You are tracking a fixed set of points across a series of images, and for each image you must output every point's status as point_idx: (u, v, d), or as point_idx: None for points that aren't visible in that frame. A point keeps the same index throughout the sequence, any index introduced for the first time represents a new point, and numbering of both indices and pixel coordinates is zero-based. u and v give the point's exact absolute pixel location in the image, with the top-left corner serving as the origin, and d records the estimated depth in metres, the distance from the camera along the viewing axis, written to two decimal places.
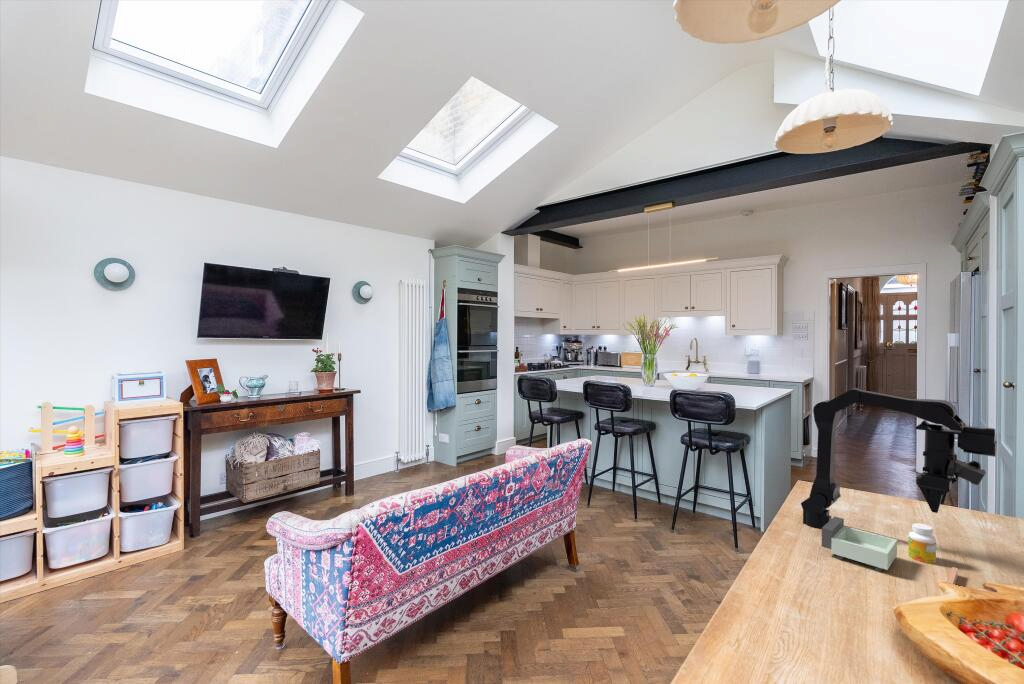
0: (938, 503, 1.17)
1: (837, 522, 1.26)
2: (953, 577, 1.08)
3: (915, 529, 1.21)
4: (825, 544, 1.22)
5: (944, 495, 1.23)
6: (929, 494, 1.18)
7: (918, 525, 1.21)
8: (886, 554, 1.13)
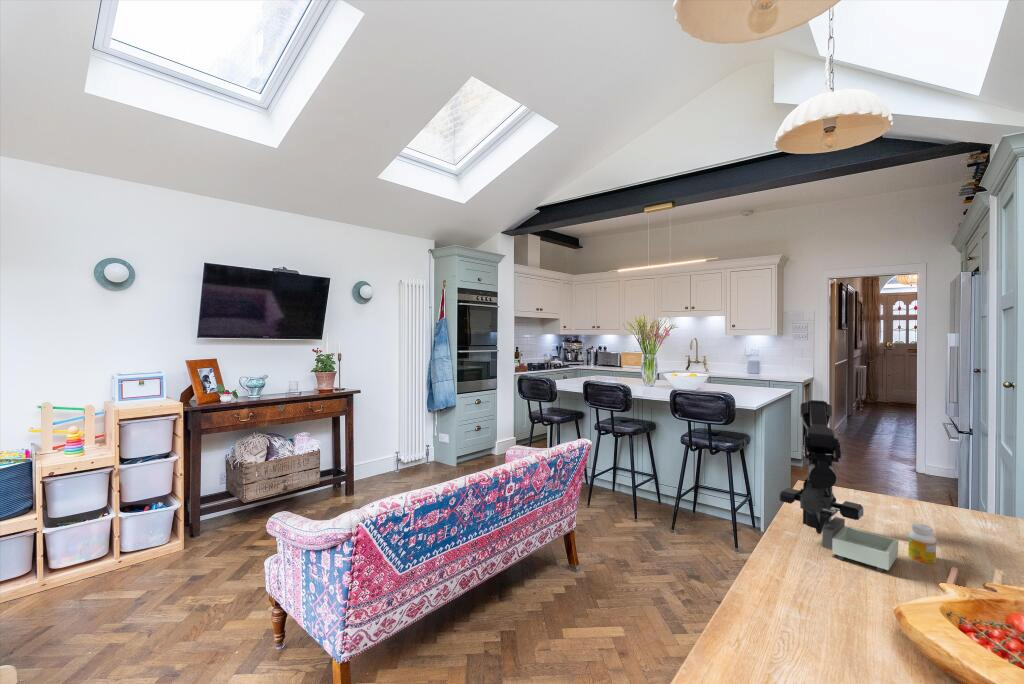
0: None
1: (838, 522, 1.26)
2: (953, 577, 1.08)
3: (914, 529, 1.21)
4: (826, 544, 1.22)
5: None
6: None
7: (917, 525, 1.21)
8: (887, 554, 1.13)
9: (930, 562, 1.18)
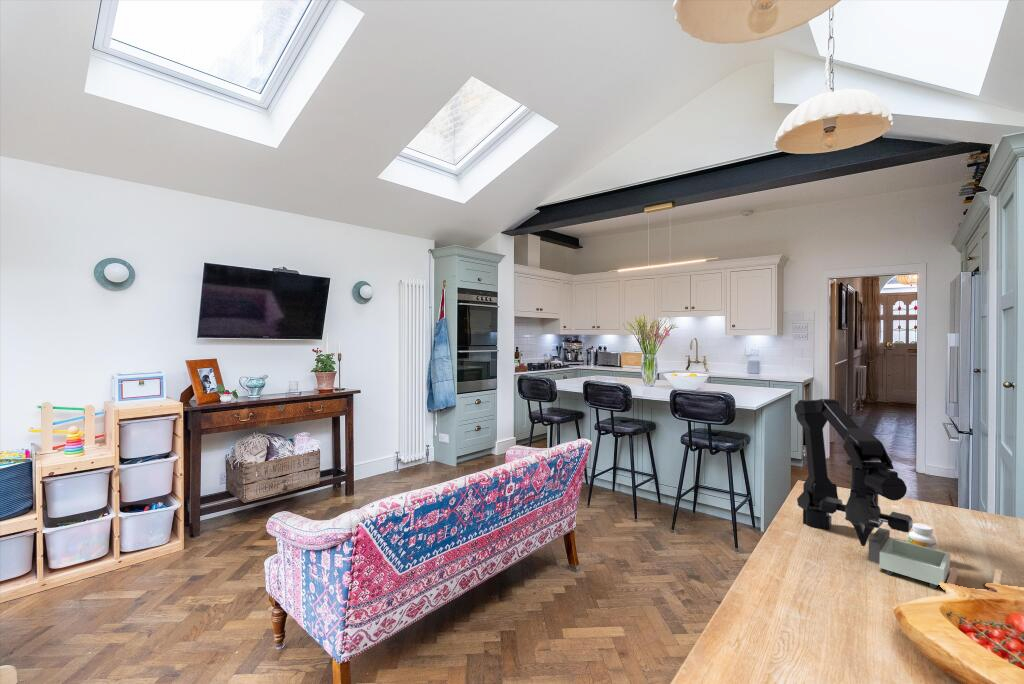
0: None
1: (883, 534, 1.19)
2: (953, 577, 1.08)
3: (915, 529, 1.21)
4: (872, 558, 1.15)
5: (863, 537, 1.20)
6: None
7: (918, 525, 1.21)
8: (942, 570, 1.05)
9: None
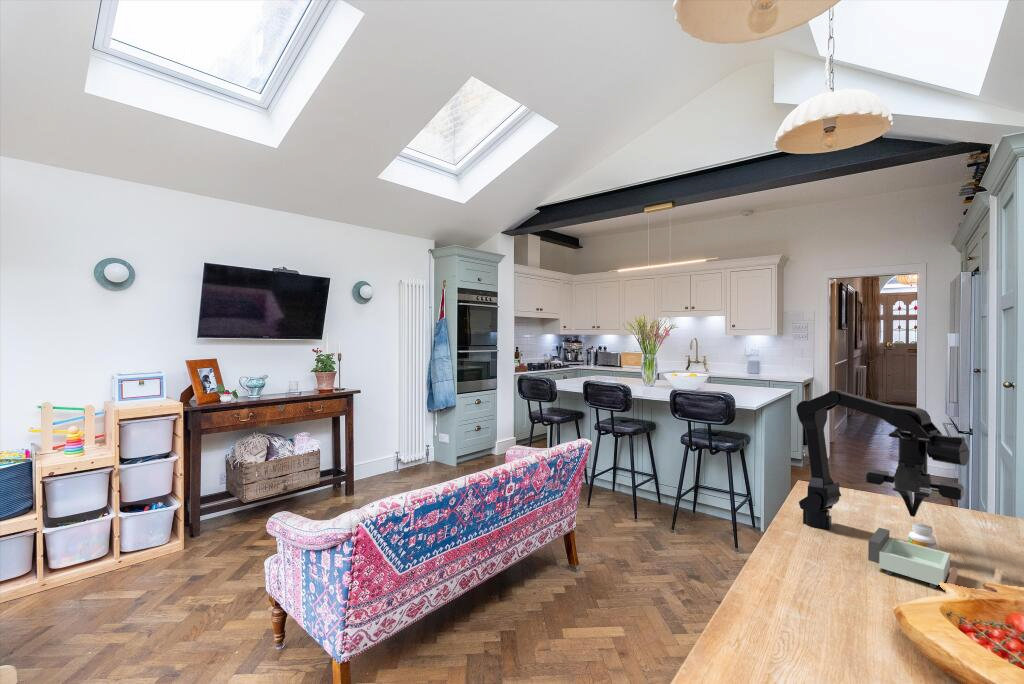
0: None
1: (883, 534, 1.19)
2: (953, 577, 1.08)
3: (914, 529, 1.21)
4: (872, 558, 1.15)
5: (912, 507, 1.20)
6: None
7: (917, 525, 1.21)
8: (942, 570, 1.05)
9: None
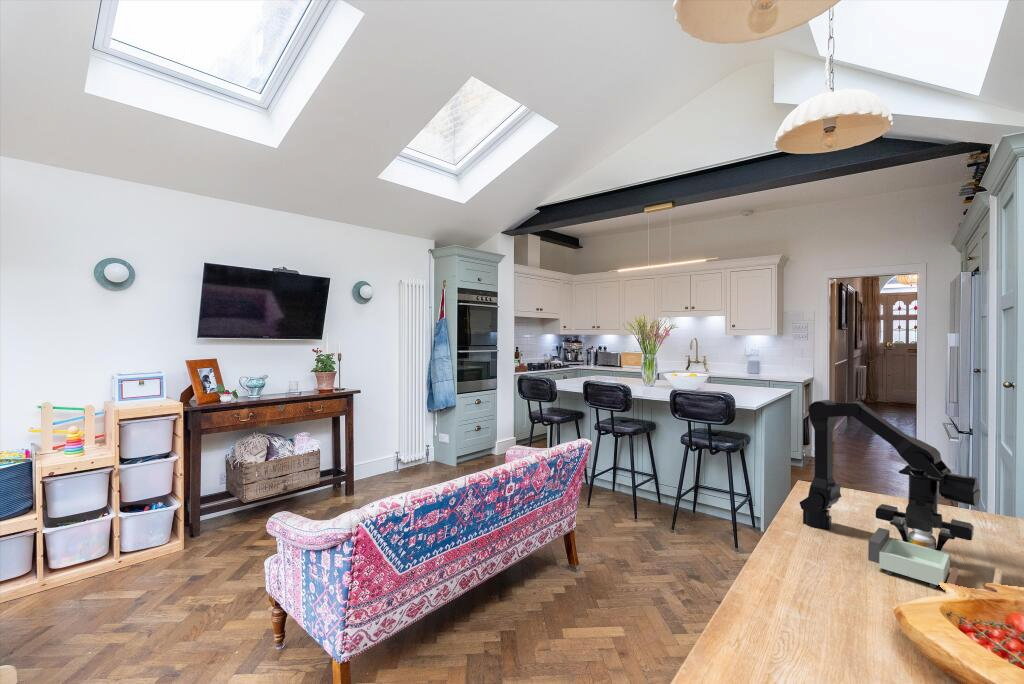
0: None
1: (883, 534, 1.19)
2: (953, 577, 1.08)
3: (915, 529, 1.21)
4: (872, 558, 1.15)
5: (936, 548, 1.18)
6: None
7: None
8: (942, 570, 1.05)
9: None
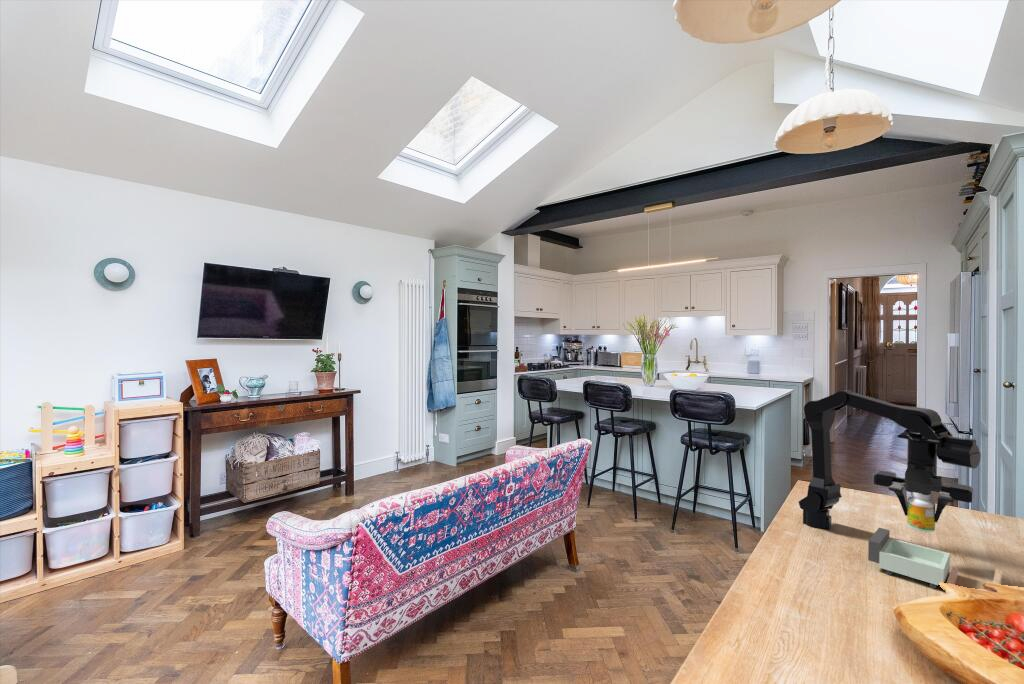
0: (901, 504, 1.21)
1: (883, 534, 1.19)
2: (953, 577, 1.08)
3: (913, 494, 1.19)
4: (872, 558, 1.15)
5: (935, 513, 1.16)
6: None
7: None
8: (942, 570, 1.05)
9: (929, 527, 1.16)
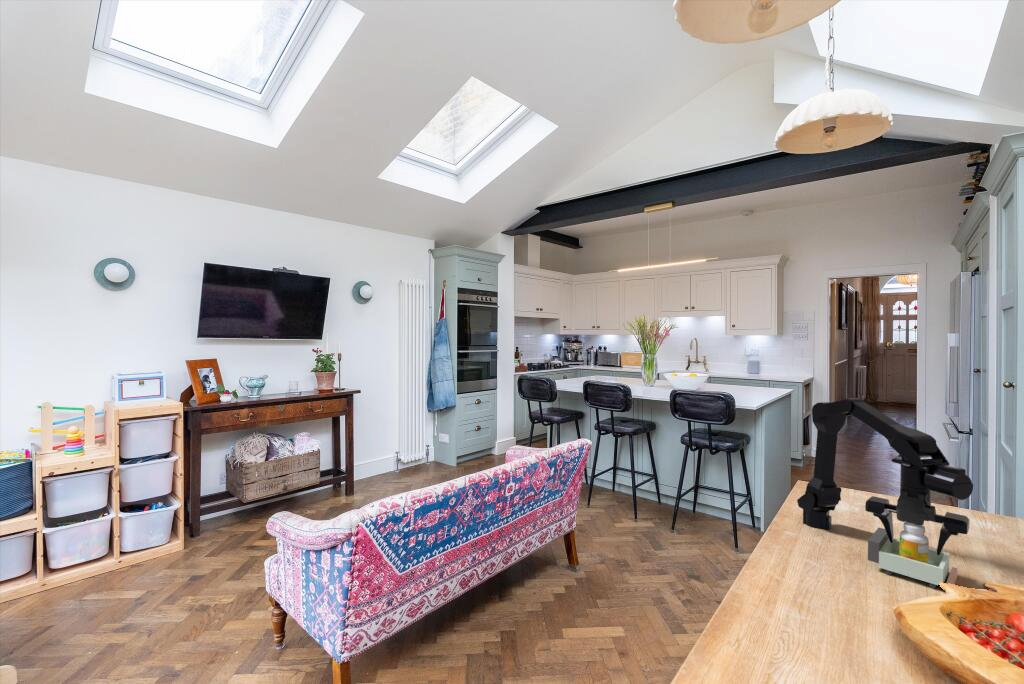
0: None
1: (883, 534, 1.19)
2: (953, 577, 1.08)
3: (906, 528, 1.13)
4: (872, 558, 1.15)
5: None
6: None
7: (909, 524, 1.14)
8: (941, 570, 1.05)
9: None
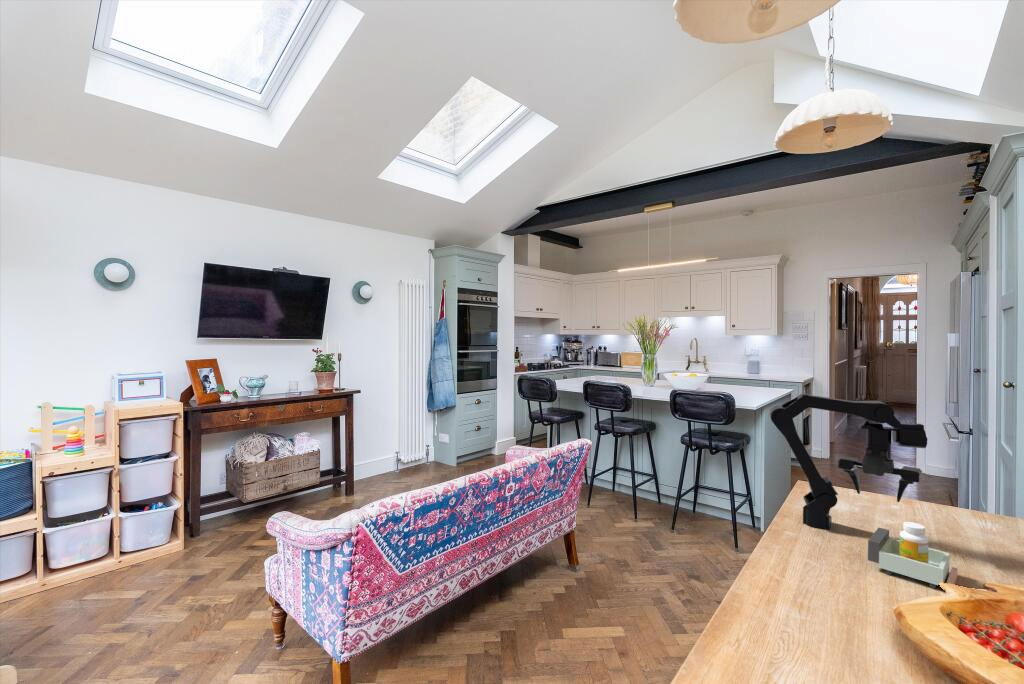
0: None
1: (883, 534, 1.19)
2: (953, 577, 1.08)
3: (906, 528, 1.13)
4: (872, 558, 1.15)
5: None
6: None
7: (909, 524, 1.14)
8: (941, 570, 1.05)
9: None
